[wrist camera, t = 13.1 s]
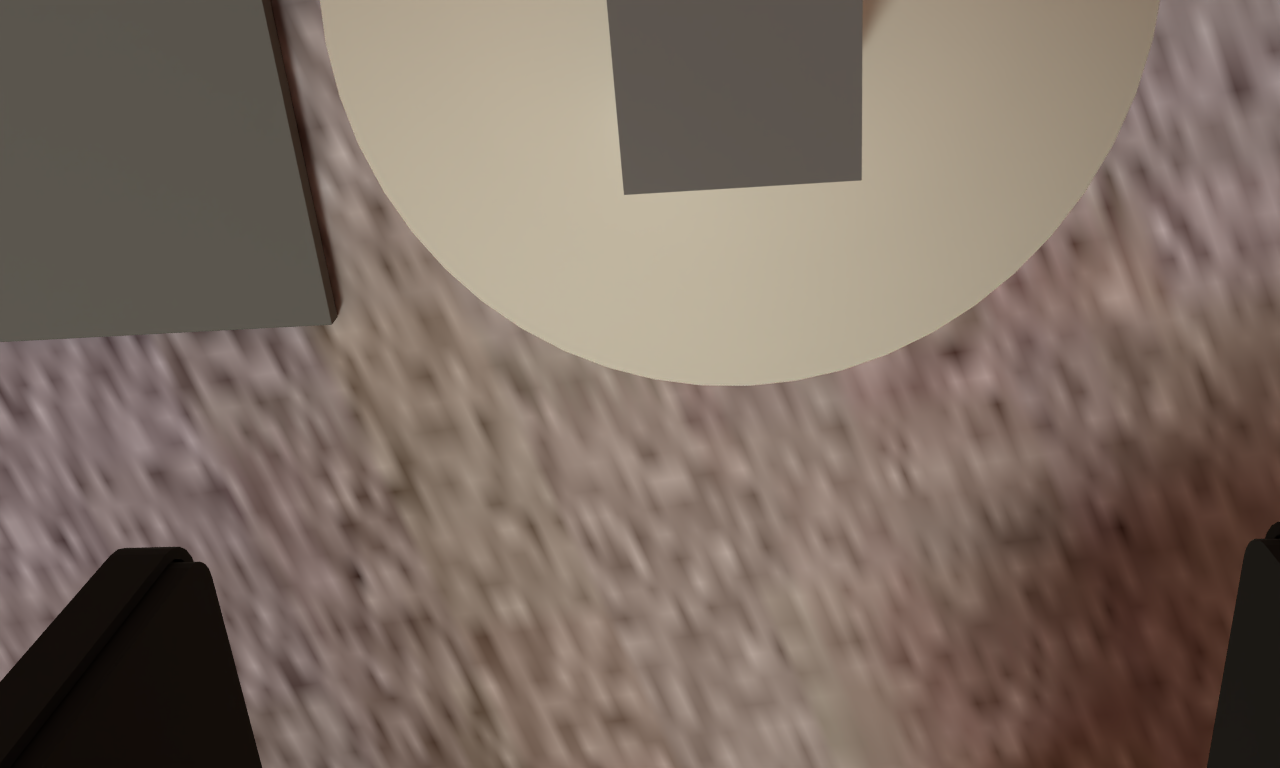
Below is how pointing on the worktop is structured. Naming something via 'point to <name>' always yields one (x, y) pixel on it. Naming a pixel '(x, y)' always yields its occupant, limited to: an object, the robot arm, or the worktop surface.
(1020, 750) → the worktop surface
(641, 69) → the lid
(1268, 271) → the worktop surface
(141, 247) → the mat
